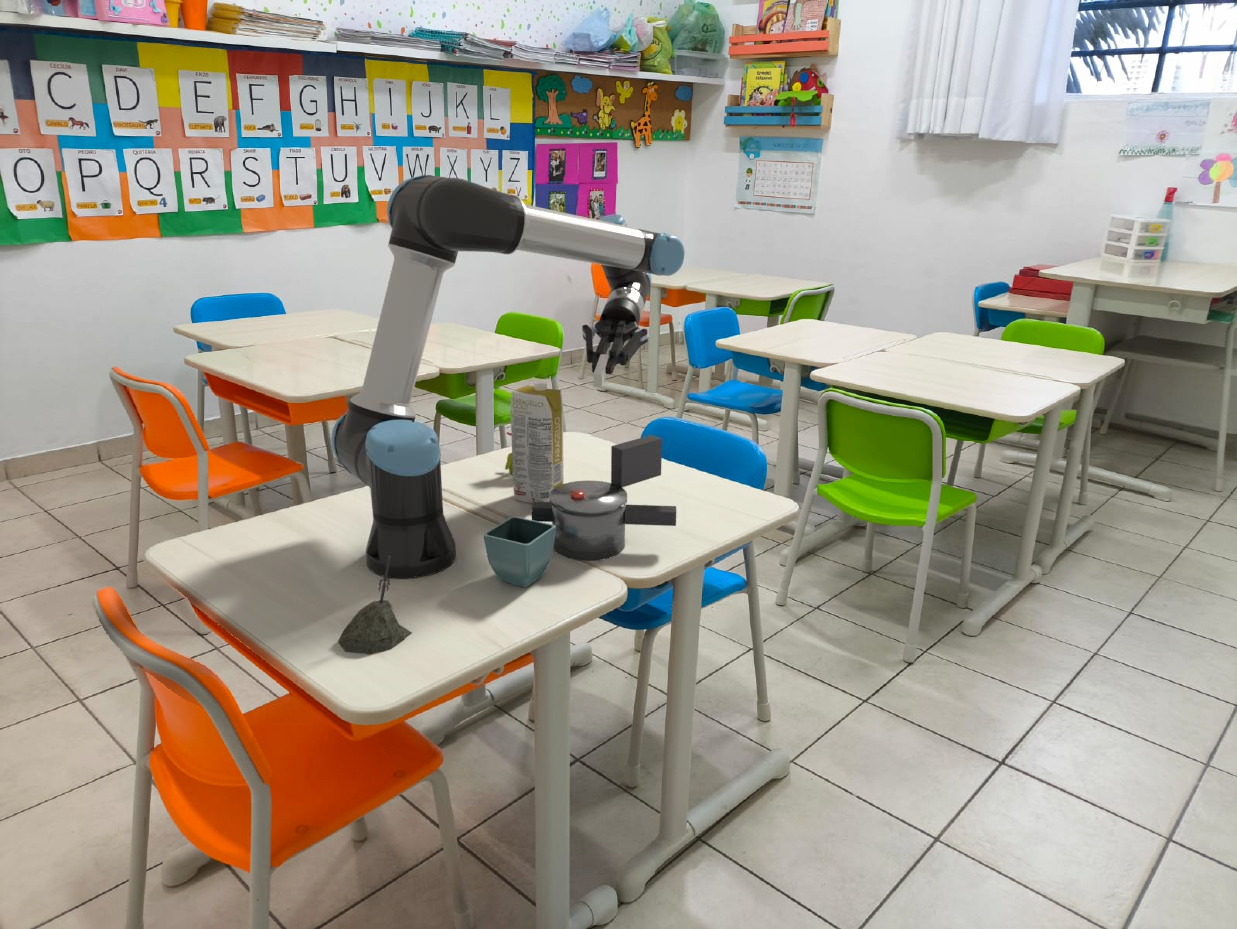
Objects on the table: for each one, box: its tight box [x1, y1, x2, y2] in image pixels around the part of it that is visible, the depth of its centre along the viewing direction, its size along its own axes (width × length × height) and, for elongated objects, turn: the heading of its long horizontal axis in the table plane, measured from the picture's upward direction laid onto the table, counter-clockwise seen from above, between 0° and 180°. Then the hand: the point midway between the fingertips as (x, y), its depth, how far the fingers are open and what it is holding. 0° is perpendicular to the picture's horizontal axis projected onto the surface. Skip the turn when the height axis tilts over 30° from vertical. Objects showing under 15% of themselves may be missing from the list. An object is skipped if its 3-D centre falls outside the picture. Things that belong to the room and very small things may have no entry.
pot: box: [531, 502, 677, 562], centre depth 156 cm, size 26×13×8 cm, turn 87°
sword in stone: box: [338, 556, 413, 655], centre depth 125 cm, size 10×8×12 cm
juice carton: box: [510, 381, 565, 505], centre depth 173 cm, size 9×8×24 cm
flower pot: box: [482, 515, 556, 588], centre depth 143 cm, size 9×9×9 cm
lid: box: [550, 434, 663, 515], centre depth 156 cm, size 23×14×8 cm, turn 132°
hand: (597, 380), depth 154 cm, fingers closed
